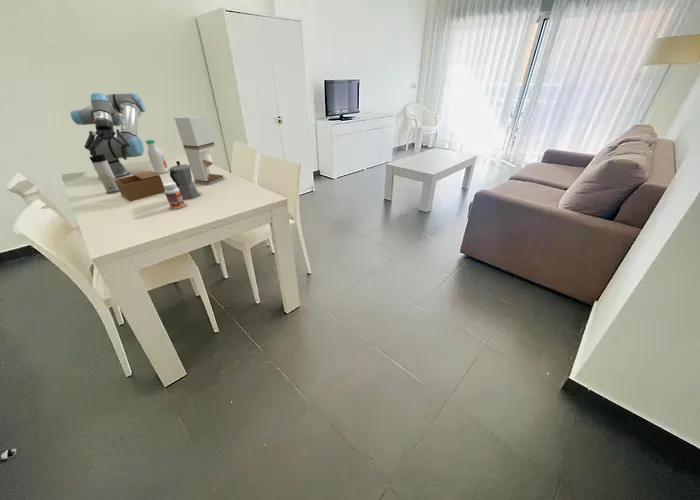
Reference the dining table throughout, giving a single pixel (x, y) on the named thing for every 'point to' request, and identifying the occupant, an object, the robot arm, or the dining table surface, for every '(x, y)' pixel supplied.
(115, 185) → the travel mug
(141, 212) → the dining table surface
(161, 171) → the milk bottle
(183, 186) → the coffeepot
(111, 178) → the flap
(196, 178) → the drip coffee maker
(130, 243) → the dining table surface
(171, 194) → the pill bottle
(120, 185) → the carton
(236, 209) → the dining table surface
